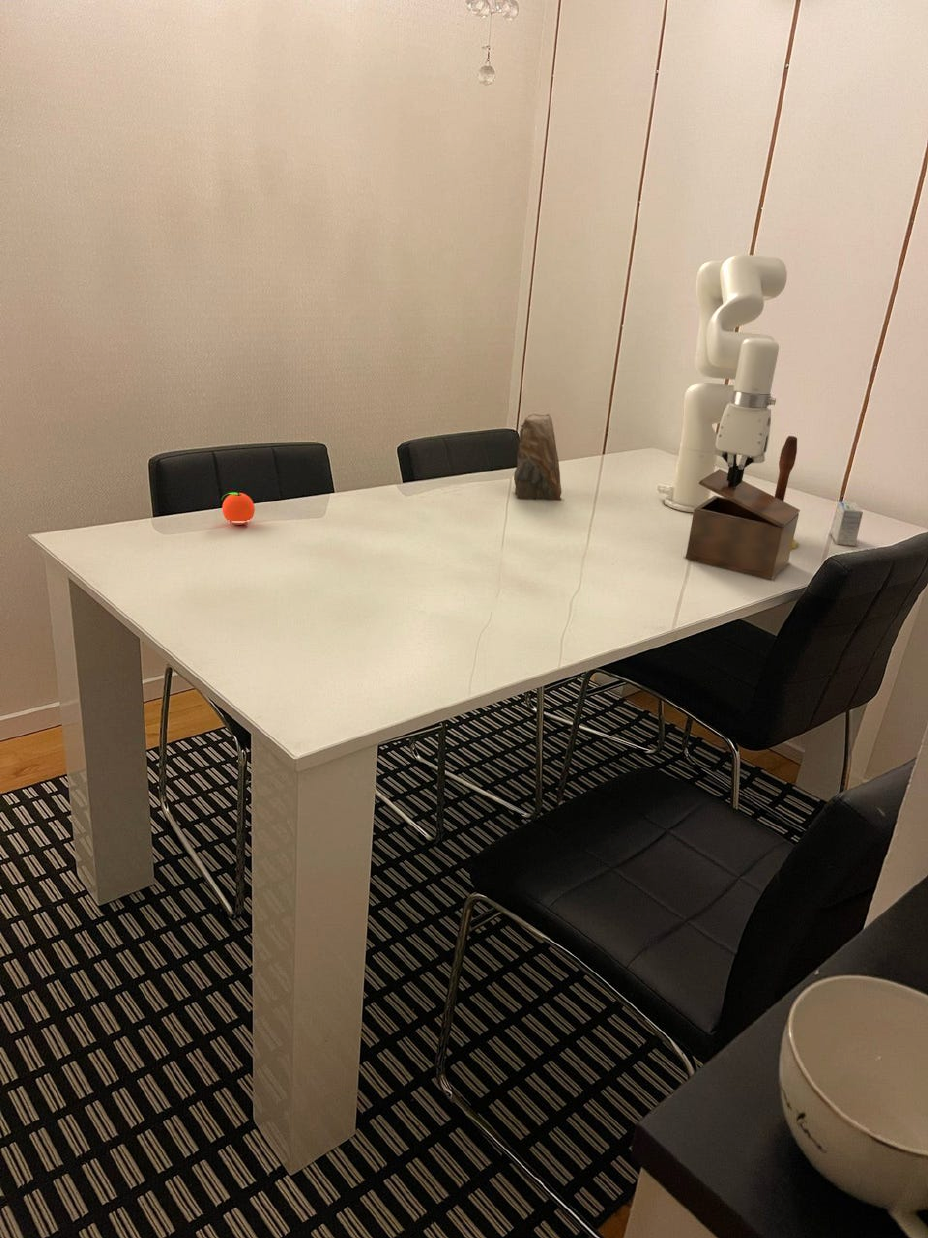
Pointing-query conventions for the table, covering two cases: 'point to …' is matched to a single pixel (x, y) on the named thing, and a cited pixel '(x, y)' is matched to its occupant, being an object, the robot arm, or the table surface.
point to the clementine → (238, 508)
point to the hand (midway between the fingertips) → (733, 485)
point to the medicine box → (847, 523)
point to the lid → (751, 498)
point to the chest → (739, 539)
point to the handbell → (786, 468)
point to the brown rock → (537, 460)
